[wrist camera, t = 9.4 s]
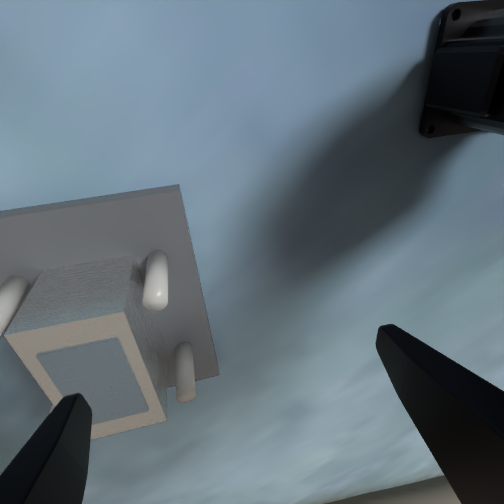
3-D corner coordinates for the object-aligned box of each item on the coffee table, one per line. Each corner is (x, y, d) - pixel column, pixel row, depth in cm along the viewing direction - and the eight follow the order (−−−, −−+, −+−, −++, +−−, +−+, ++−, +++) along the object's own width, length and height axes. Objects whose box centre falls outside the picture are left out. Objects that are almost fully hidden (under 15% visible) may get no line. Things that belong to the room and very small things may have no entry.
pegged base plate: (179, 184, 18) (181, 223, 14) (217, 365, 26) (226, 422, 22) (-56, 219, 16) (-134, 276, 12) (67, 400, 25) (47, 469, 21)
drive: (134, 254, 18) (123, 313, 14) (167, 355, 23) (166, 422, 19) (43, 269, 18) (2, 336, 13) (96, 371, 22) (79, 444, 18)
